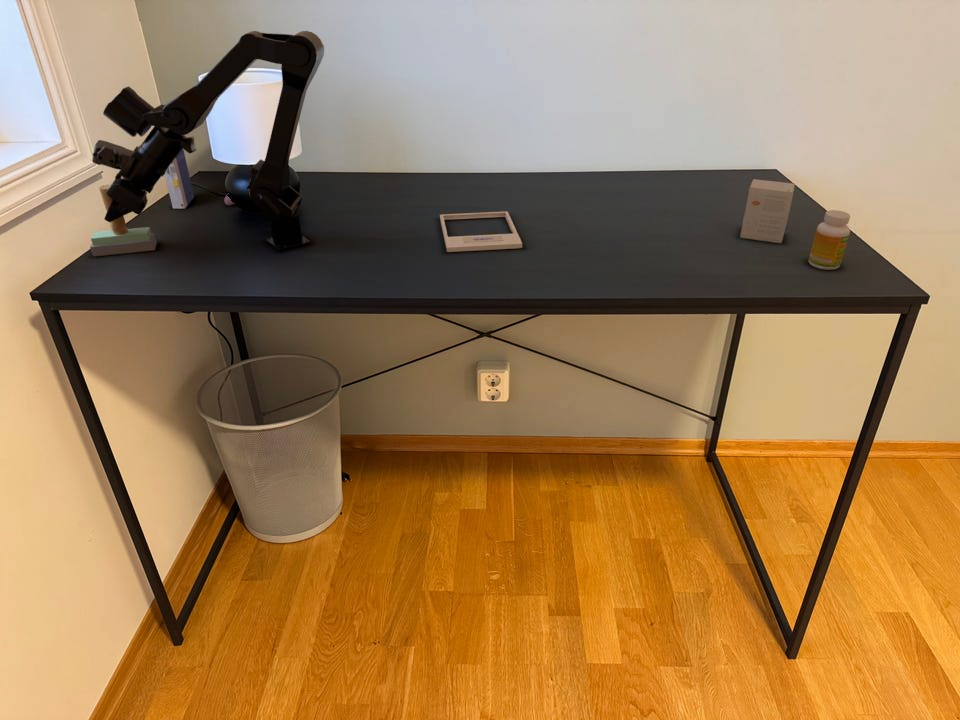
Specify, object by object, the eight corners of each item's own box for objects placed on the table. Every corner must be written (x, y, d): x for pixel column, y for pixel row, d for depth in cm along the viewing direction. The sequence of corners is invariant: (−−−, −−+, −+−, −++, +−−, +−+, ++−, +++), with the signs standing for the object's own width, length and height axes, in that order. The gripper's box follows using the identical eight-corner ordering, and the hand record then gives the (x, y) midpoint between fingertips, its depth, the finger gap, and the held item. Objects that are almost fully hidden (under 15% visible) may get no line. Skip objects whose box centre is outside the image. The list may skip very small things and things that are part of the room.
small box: (783, 234, 139) (796, 183, 133) (781, 244, 134) (794, 191, 129) (742, 228, 142) (753, 178, 136) (738, 238, 137) (749, 186, 132)
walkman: (182, 197, 159) (169, 145, 153) (194, 197, 160) (182, 144, 153) (172, 209, 153) (158, 154, 146) (184, 208, 153) (171, 154, 147)
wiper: (157, 242, 136) (140, 180, 130) (154, 250, 133) (137, 187, 126) (96, 248, 134) (76, 185, 127) (93, 256, 131) (71, 192, 124)
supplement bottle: (837, 273, 123) (852, 221, 118) (805, 266, 126) (819, 215, 120) (841, 262, 127) (856, 212, 122) (810, 256, 129) (824, 206, 124)
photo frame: (446, 246, 131) (439, 213, 146) (447, 252, 131) (439, 218, 147) (522, 242, 132) (507, 210, 148) (522, 248, 133) (507, 215, 148)
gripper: (121, 113, 129) (76, 176, 133) (103, 138, 114) (52, 208, 118) (175, 152, 135) (131, 211, 139) (165, 180, 120) (115, 246, 124)
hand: (108, 217), depth 130 cm, fingers closed on wiper, 2 cm apart
